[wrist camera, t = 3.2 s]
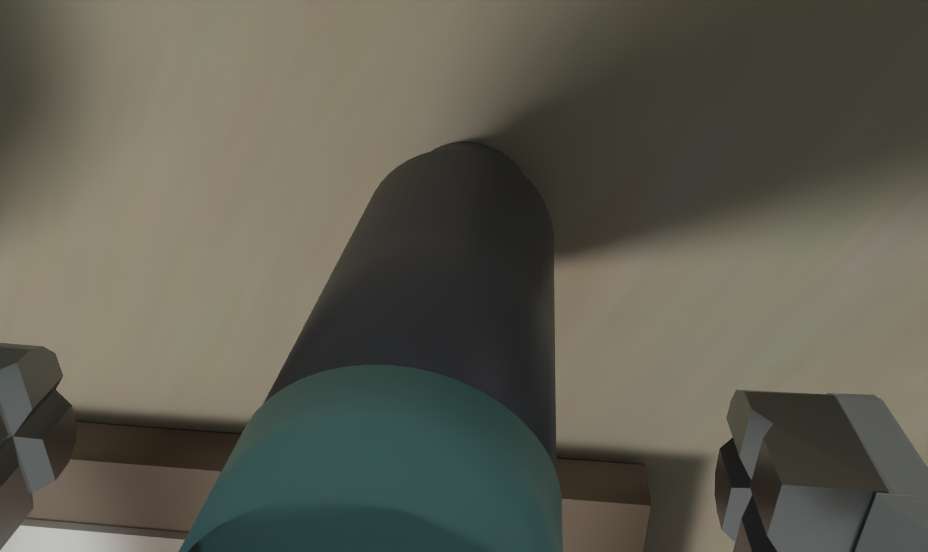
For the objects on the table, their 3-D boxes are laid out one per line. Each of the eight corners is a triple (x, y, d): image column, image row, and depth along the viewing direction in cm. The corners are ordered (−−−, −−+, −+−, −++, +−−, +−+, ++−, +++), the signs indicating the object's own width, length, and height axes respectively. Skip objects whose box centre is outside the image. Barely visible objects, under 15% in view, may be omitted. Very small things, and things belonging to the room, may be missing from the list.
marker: (562, 121, 13) (582, 516, 5) (549, 286, 15) (551, 779, 7) (374, 114, 13) (124, 478, 5) (382, 277, 15) (197, 739, 7)
